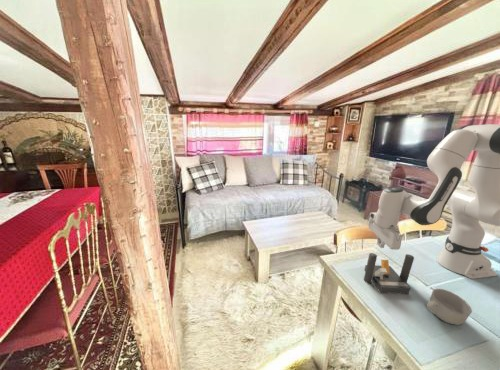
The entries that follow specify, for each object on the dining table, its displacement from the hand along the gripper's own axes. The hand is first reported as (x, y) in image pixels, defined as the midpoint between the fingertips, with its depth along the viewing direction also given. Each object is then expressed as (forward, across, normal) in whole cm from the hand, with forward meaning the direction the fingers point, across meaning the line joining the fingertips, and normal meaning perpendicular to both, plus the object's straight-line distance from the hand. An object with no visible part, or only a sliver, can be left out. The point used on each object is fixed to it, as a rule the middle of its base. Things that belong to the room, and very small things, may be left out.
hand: (380, 246), depth 98 cm
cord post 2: (+13, -8, -8) cm, 18 cm away
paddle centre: (+10, -8, 0) cm, 13 cm away
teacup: (+14, -26, -11) cm, 31 cm away
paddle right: (+10, -8, +4) cm, 14 cm away
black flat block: (+13, -8, 0) cm, 16 cm away
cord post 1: (+13, -8, +8) cm, 18 cm away
